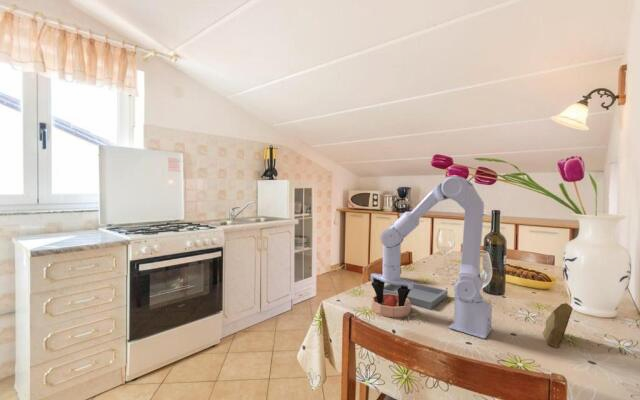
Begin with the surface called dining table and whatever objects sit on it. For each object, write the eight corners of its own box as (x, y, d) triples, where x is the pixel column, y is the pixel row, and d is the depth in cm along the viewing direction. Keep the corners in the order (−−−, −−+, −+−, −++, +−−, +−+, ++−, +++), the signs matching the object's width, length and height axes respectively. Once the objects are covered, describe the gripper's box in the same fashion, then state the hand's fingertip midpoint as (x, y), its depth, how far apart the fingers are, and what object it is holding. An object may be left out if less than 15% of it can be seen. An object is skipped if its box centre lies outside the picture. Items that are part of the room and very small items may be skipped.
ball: (398, 307, 101) (399, 295, 101) (393, 310, 98) (393, 298, 98) (388, 303, 104) (388, 292, 104) (382, 307, 101) (382, 295, 101)
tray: (447, 297, 113) (447, 290, 113) (430, 309, 101) (431, 302, 101) (397, 285, 127) (397, 279, 126) (377, 295, 115) (378, 288, 114)
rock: (569, 346, 74) (592, 333, 78) (545, 311, 78) (568, 301, 82) (533, 353, 83) (556, 341, 87) (514, 322, 87) (536, 312, 91)
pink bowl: (416, 308, 102) (416, 299, 102) (398, 321, 92) (398, 310, 92) (383, 299, 110) (383, 290, 110) (364, 310, 100) (364, 300, 100)
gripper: (417, 266, 99) (416, 307, 99) (378, 259, 108) (377, 296, 109) (408, 270, 93) (407, 314, 94) (367, 262, 103) (366, 302, 104)
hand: (390, 305), depth 101 cm, fingers open, 7 cm apart
